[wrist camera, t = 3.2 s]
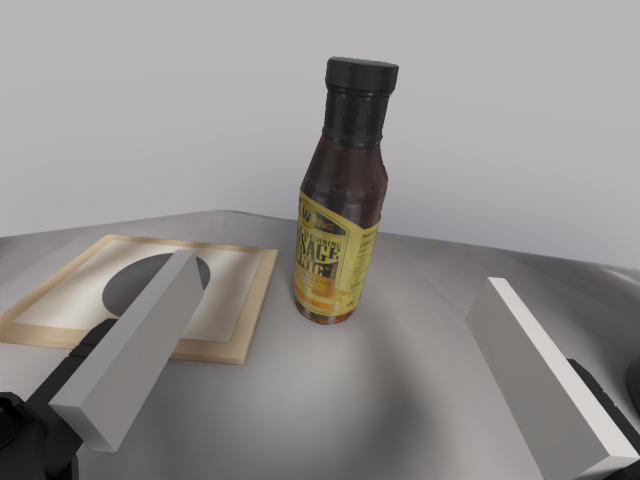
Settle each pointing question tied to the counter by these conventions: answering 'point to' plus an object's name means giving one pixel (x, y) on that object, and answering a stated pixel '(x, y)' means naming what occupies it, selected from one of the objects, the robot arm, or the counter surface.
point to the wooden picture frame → (131, 279)
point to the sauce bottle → (343, 191)
